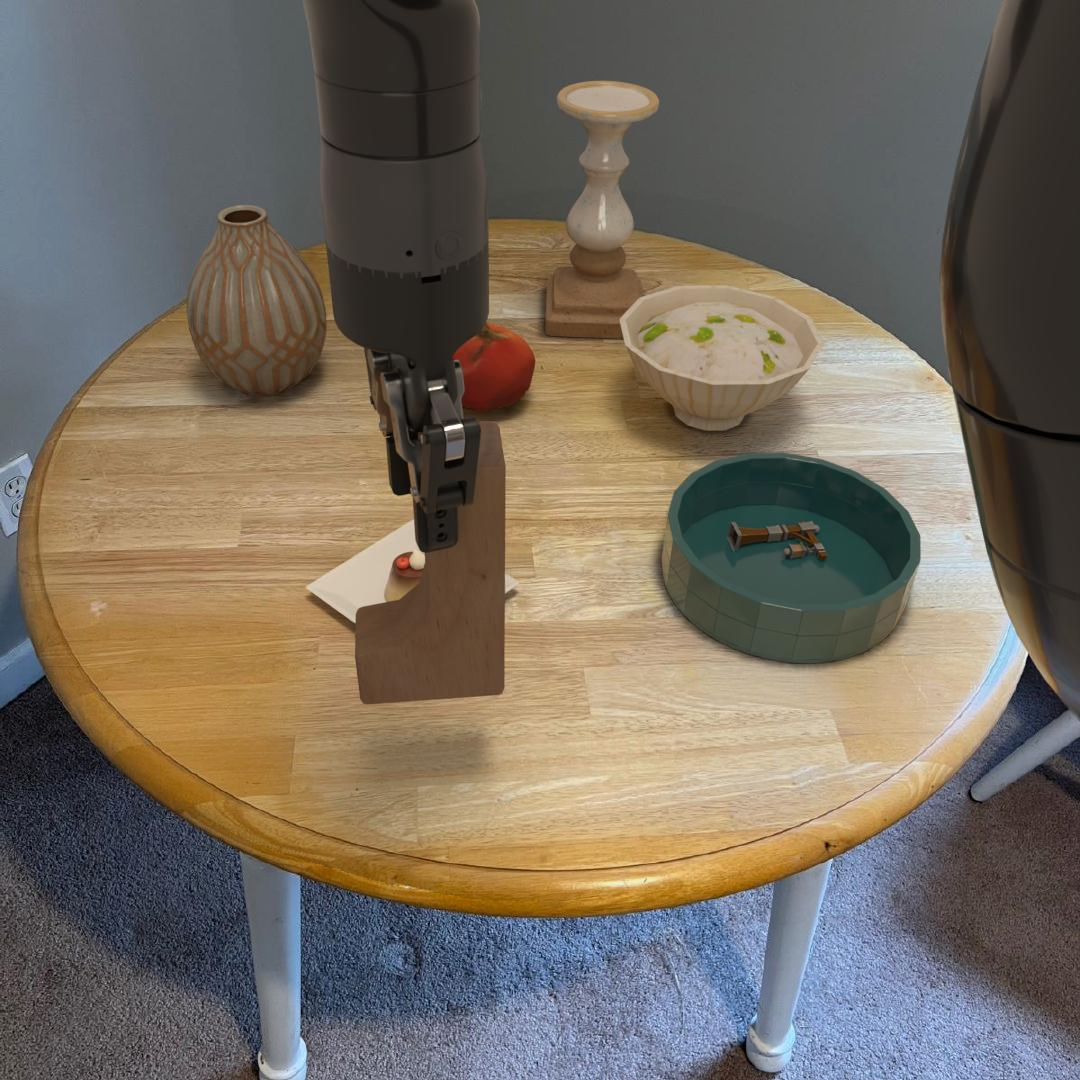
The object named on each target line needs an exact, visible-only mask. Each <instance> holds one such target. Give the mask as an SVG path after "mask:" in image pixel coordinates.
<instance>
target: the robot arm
mask: <svg viewBox="0 0 1080 1080" xmlns="http://www.w3.org/2000/svg"><path fill="white" fill-rule="evenodd" d="M301 4H302V8H303V12H304V17H305V22H306V27H307V33H308V38H309V39H308V40H309V44H310V53H311V60H312V61H311V62H312V67H313V68H312V71H313V78H314V89H315V97H316V105H317V106H316V109H317V117H318V127H319V131H320V132H319V140H320V155H319V156H320V158H319V190H320V192H319V193H320V202H321V212H322V220H323V230H324V231H323V232H324V241H325V250H326V259H327V260H326V261H327V267H328V276H329V287H330V296H331V305H332V315H333V320H334V324H335V325H336V327H337V328H338V330H339V332H340V333H341V334H342V335H343V336H344V337H345V338H346V339H348V340H349V341H351V342H352V343H354V344H356V345H357V346H360V347H362V348H363V350H364V357H365V363H366V364H365V365H366V371H367V377H368V384H369V385H368V386H369V393H370V395H369V401H370V402H369V403H370V404H371V405H372V406H373V410H374V411H376V412H377V415H379V422H378V427H379V431H380V432H381V433H382V436H383V437H384V438H385V446H386V459H387V471H388V483H389V487H390V490H391V491H392V493H393V494H394V495H395V496H398V497H401V496H406V495H410V496H411V497H412V507H413V508H412V509H413V519H414V526H415V541H416V543H417V545H418V547H419V550H420V551H421V552H423V553H429V552H433V551H438V550H442V549H447V548H451V547H453V546H454V545H456V543H457V542H458V520H457V506H462V505H463V506H465V505H470V504H473V501H474V492H475V483H476V474H477V465H478V456H479V447H480V438H481V435H480V434H481V427H480V424H479V423H478V422H479V421H478V419H477V418H476V416H469V417H465V418H464V410H463V406H462V402H461V398H462V396H463V394H464V392H465V387H464V378H463V371H462V367H461V364H460V362H459V360H453V355H454V354H455V352H456V351H457V350H458V349H459V348H460V347H461V346H462V345H463V344H465V343H466V342H467V341H469V340H470V339H472V338H473V337H475V336H476V335H477V334H478V333H479V332H480V331H481V330H482V328H483V327H484V325H485V324H486V322H487V321H488V319H489V314H490V262H489V261H490V259H489V258H490V252H489V251H490V250H489V249H490V247H489V242H490V241H489V240H490V239H489V238H490V235H489V234H490V233H489V228H490V227H489V225H490V224H489V223H490V222H489V178H488V170H487V162H486V156H485V149H484V148H485V147H484V139H483V86H482V84H483V83H482V82H483V81H482V80H483V79H482V75H483V74H482V72H483V71H482V70H483V69H482V66H483V63H482V62H483V61H482V59H483V58H482V57H483V55H482V50H483V49H482V48H483V47H482V27H481V20H480V19H481V17H480V12H479V7H478V5H477V3H476V0H301ZM984 57H985V58H984V61H983V64H982V66H981V67H982V68H981V71H980V74H979V77H978V81H977V84H976V87H975V91H974V95H973V99H972V103H971V106H970V109H969V114H968V118H967V121H966V126H965V130H964V134H963V136H962V141H961V144H960V148H959V151H958V155H957V160H956V165H955V169H954V174H953V179H952V183H951V188H950V192H949V197H948V202H947V208H946V214H945V223H944V228H943V235H942V242H941V252H940V267H939V291H940V292H939V294H940V295H939V297H940V298H939V299H940V300H939V301H940V321H941V322H940V323H941V331H942V338H943V345H944V352H945V358H946V364H947V370H948V376H949V380H950V383H951V390H952V395H953V399H954V403H955V409H956V413H957V418H958V423H959V428H960V432H961V438H962V443H963V446H964V453H965V456H966V462H967V466H968V471H969V476H970V480H971V486H972V489H973V491H972V492H973V496H974V500H975V505H976V509H977V514H978V518H979V523H980V529H981V532H982V536H983V542H984V546H985V550H986V555H987V558H988V561H989V565H990V568H991V572H992V575H993V577H994V580H995V584H996V588H997V590H998V593H999V596H1000V598H1001V601H1002V603H1003V606H1004V609H1005V611H1006V613H1007V616H1008V618H1009V620H1010V622H1011V625H1012V627H1013V629H1014V631H1015V633H1016V636H1017V637H1018V639H1019V641H1020V642H1021V644H1022V645H1023V647H1024V649H1025V650H1026V652H1027V654H1028V656H1029V657H1030V659H1031V660H1032V662H1033V663H1034V665H1035V667H1036V669H1037V670H1038V672H1039V673H1040V675H1041V676H1042V677H1043V679H1044V680H1045V682H1046V683H1047V685H1049V686H1050V689H1052V691H1053V692H1054V693H1055V694H1056V695H1057V697H1058V698H1059V699H1060V701H1061V702H1062V703H1063V704H1064V706H1065V707H1066V708H1067V709H1068V710H1069V712H1070V713H1071V714H1072V715H1073V716H1074V717H1075V718H1076V719H1077V720H1078V722H1080V0H1002V1H1001V4H1000V7H999V10H998V14H997V17H996V19H995V23H994V28H993V30H992V34H991V37H990V40H989V43H988V47H987V50H986V54H985V56H984ZM418 432H423V434H422V435H421V436H420V439H418Z"/></svg>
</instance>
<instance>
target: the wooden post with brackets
mask: <svg viewBox="0 0 1080 1080" xmlns="http://www.w3.org/2000/svg"><path fill="white" fill-rule="evenodd" d="M819 530H820V528H819V526H818V525H814V524H813V522H812V521H811V522H806V523H805V521H803V522H799V523H798V525H794V526H785V525H781V527H779V525H777V526H772V527H767V526H766V529H754V528H742V527H738V526H737V524H736V522H731V523H730V527H729V531H728V535H727V539H728V541H729V543H730V545H731V547H732V549H733V551H735V550H738V548H739V545H743V544H746V543H752V542H757V541H764V540H767V542H770V541H780V539H782V540H783V541H784V540H786V539H787V538H791V537H795V538H797V539H799V540H801V541H803V542H805V543H807V544H809V545H810V546H811V547H812V548H809V547H808V546H807V547H804V546H803V544H802V542H800V544H799V545H791V544H789V546H788V548H785V549H784V550H783V554H784V555H788V556H789V558H790V559H792V558H796V557H801V559H803V557H804V554H806V553H807V555H808V554H809V552H813V553H814V554H815V556H817V558H819V560H820V561H821V560H826V557H827V554H826V551H824V547H823V546H822V544H821V543H819V542H818V540H817V539H816V537H815V536H814V534H815V533H818V532H819Z"/></svg>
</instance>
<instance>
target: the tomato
mask: <svg viewBox="0 0 1080 1080" xmlns="http://www.w3.org/2000/svg"><path fill="white" fill-rule="evenodd" d="M453 360H459V362H460V364H461V367H462V371H463V378H464V387H465V392H464V394H463V396H462V398H461V402H462V407H464V408H467V409H470V410H474V411H477V412H479V413H485V412H490V411H495V410H498V409H502V408H504V407H507V406H510V405H513V404H515V403H517V402H519V401H520V400H521V399H522V398H523V397H524V395H526V393H527V392H528V391H529V389H530V388H531V384H532V379H533V376H534V372H535V367H536V357H535V354H534V352H533V350H532V348H531V347H530V345H529V344H528V342H527V341H526V340H525V339H524V338H523V337H522V336H521V335H519V334H517V333H515V332H514V331H512V330H510V329H508V328H506V327H505V326H504V327H503V326H501V325H497V324H494V323H490V322H487V321H486V324H485V325H484V327H483V328H482V330H481V331H480V332H479V333H478V334H477V335H476V336H475V337H473V338H472V339H470V340H469V341H467V342H466V343H465V344H463V345H462V346H461V347H460V348H459V349H458V350H457V351H456V352H455V354H454V355H453Z"/></svg>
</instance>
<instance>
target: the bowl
mask: <svg viewBox="0 0 1080 1080" xmlns="http://www.w3.org/2000/svg"><path fill="white" fill-rule="evenodd" d="M619 320H620V324H621V329H622V333H623V337H624V339H623V341H624V347H625V348H626V350H627V353H628V355H629V357H630V360H631V361H632V363H633V365H634V367H635V370H636V372H637V374H639V375H640V376H641V378H642V379H643V380H644V381H645V382H646V383H647V384H648V385H649V386H650V387H651V388H652V389H653V390H654V392H656V394H658V396H660V397H661V398H662V399H664V400H665V401H666V402H667V403H668V404H670V405H671V406H672V407H673V411H674V415H675V417H676V418H677V419H678V420H680V421H681V422H683V423H684V424H685V425H687V426H688V427H691V428H696V429H699V430H703V431H705V432H706V431H707V432H709V431H711V432H712V431H727V430H729V429H732V428H735V427H737V426H739V425H740V424H741V423H742V421H743V420H744V419H745V417H746V415H749V414H752V413H753V412H756V411H759V410H762V409H764V408H765V407H767V406H769V405H770V404H771V403H773V402H775V401H777V400H778V399H780V398H781V397H783V396H785V395H787V394H788V393H790V392H791V391H792V390H793V388H794V387H795V386H796V385H797V384H798V383H799V382H800V380H801V379H802V378H803V377H804V376H805V375H806V374H807V373H808V371H809V370H810V369H811V367H812V365H814V363H815V362H816V359H817V358H818V356H819V354H820V353H821V351H822V349H823V348H824V346H825V342H824V340H823V338H822V336H821V334H820V333H819V330H818V328H817V326H816V324H815V323H814V320H813V318H811V317H810V316H809V315H807V314H805V313H803V312H802V311H800V310H799V309H797V308H795V307H793V306H792V305H790V304H789V303H787V302H786V301H784V300H782V299H780V298H778V297H776V296H775V295H774V296H773V295H769V294H765V293H761V292H757V291H752V290H749V289H744V288H740V287H736V286H732V285H676V286H673V287H670V288H667V289H664V290H663V289H662V290H660V291H656V292H654V293H651V294H647V295H643V297H640V298H639V299H638V300H637V301H636V302H635V303H634V304H633V305H632V306H631V307H630V308H629V309H628V310H627V312H626V313H625V314H624V315H623V316H622V317H621V318H620V319H619Z"/></svg>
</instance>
